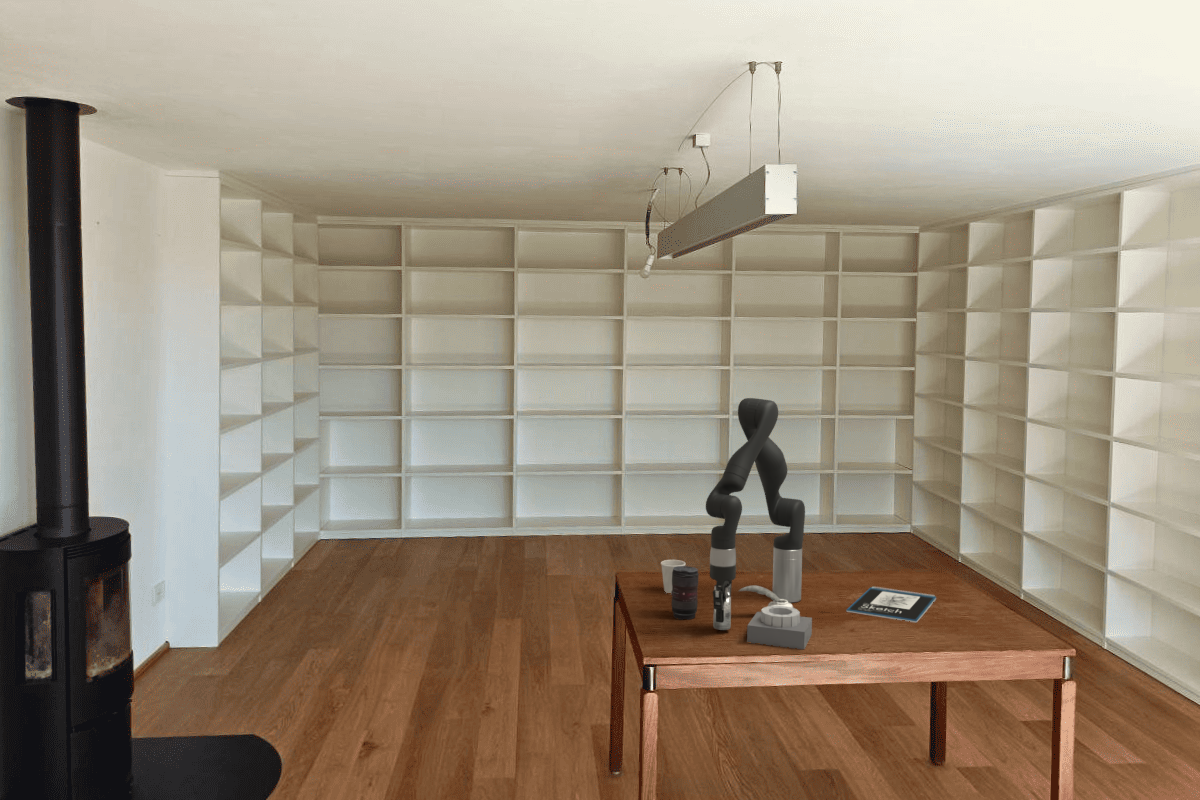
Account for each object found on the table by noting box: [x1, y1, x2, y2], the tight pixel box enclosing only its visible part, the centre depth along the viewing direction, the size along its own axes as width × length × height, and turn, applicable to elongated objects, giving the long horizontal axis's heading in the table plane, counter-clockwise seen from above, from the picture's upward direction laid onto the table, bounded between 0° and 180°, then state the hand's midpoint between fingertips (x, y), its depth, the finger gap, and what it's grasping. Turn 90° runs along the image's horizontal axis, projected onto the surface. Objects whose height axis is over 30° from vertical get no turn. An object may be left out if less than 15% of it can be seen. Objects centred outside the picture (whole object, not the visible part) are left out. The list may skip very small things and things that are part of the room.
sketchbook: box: [845, 585, 937, 624], centre depth 313 cm, size 22×30×2 cm
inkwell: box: [738, 584, 794, 608], centre depth 298 cm, size 9×18×10 cm, turn 98°
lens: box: [712, 596, 732, 631], centre depth 284 cm, size 5×5×9 cm
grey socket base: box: [746, 605, 813, 650], centre depth 278 cm, size 14×16×8 cm
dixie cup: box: [660, 559, 687, 594], centre depth 326 cm, size 8×8×10 cm
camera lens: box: [670, 565, 699, 620], centre depth 298 cm, size 8×8×15 cm
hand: (722, 618), depth 285 cm, fingers closed on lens, 5 cm apart
